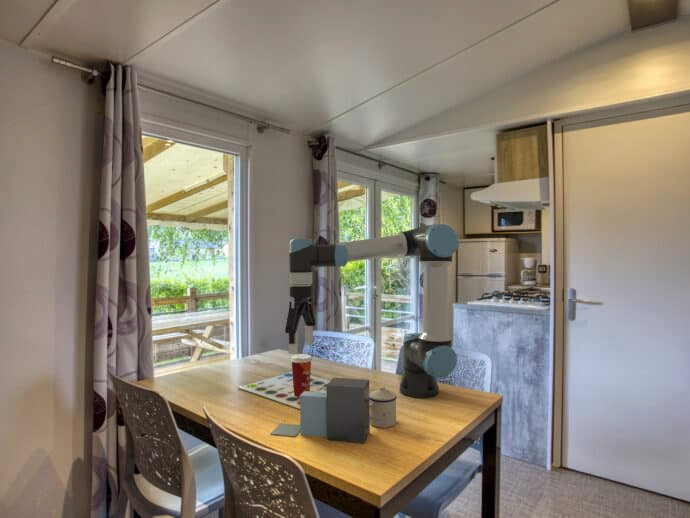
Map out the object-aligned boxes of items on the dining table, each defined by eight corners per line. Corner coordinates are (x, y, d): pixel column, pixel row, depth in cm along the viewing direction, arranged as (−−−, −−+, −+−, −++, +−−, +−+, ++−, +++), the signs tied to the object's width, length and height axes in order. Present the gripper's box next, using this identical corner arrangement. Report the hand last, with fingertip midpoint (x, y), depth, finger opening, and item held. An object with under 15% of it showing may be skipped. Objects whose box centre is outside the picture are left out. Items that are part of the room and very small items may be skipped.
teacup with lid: (382, 415, 142) (382, 380, 142) (402, 423, 135) (402, 387, 135) (356, 424, 134) (355, 388, 134) (375, 433, 127) (375, 395, 127)
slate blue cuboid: (348, 433, 128) (348, 394, 127) (345, 439, 124) (344, 398, 124) (305, 429, 131) (304, 391, 131) (300, 434, 127) (299, 395, 127)
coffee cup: (309, 399, 158) (308, 359, 158) (288, 397, 160) (287, 358, 160) (315, 391, 166) (314, 354, 166) (295, 390, 168) (294, 353, 168)
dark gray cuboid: (369, 432, 128) (369, 379, 128) (364, 444, 120) (363, 387, 120) (331, 428, 131) (330, 377, 131) (323, 439, 123) (323, 385, 123)
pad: (304, 426, 133) (304, 425, 133) (295, 437, 125) (295, 436, 125) (280, 424, 135) (280, 423, 135) (270, 434, 127) (270, 433, 127)
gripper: (304, 282, 152) (304, 340, 152) (273, 287, 128) (274, 357, 129) (324, 282, 150) (324, 341, 150) (296, 288, 126) (297, 358, 126)
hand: (301, 349), depth 139 cm, fingers open, 13 cm apart
